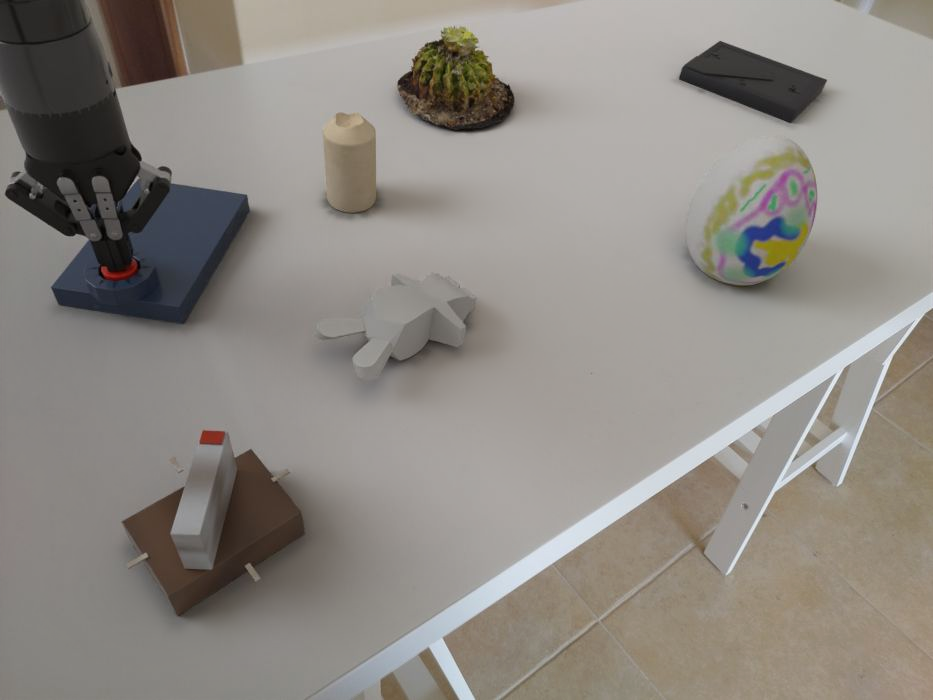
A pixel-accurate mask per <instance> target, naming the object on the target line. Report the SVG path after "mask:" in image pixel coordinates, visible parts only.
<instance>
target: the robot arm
mask: <svg viewBox="0 0 933 700" xmlns="http://www.w3.org/2000/svg"><path fill="white" fill-rule="evenodd" d="M113 77H114V74H113V71H112V67H111V64H110V61H108V58H107V54H106V51H105V47H104V45H103V43H102V40H101V38H100V36H99V34H98V31H97V28H96V27H95V24H94V22H93V19H92V15H91V12H90V8H89V5H88V1H87V0H0V95H1V99H2V101H3V103H4V106H5V108H6V110H7V113H8V115H9V118H10V120H11V123H12V125H13V127H14V131H15V133H16V135H17V137H18V141H19V143H20V145H21V148H22V149H23V150H24V152H25V153H24V154H25V159H24V162H23V167H24V169H23V170H22V171H18V170H17V171H14V172H12V173H11V176H10V177H9V181H8V183H7V185H6V189H5V191H4V196H5V197H6V198H7V200H9V201H11V202H13V203H14V204H15V205H17V206H19V208H22V209H23V210H25V211H26V212H27V213H30V214H31V215H33V216H34V217H36V218H37V219H38V220H40V221H42V222H43V223H45V224H47V225H48V226H50V227H51V228H53V229H54V230H56V231H57V232H59V233H61V234H62V235H64V236H66V237H74V236H76V235H79V236H84V237H86V238H87V240H90V242H91V245H92V248H93V250H94V253H95V256H96V258H97V261H98V263H99V264H100V265H101V266H102V267H105V266H106V267H107V269H108V272H117V271H127V266H128V265H131V263H132V258H133V252H134V250H133V247H132V243H131V240H130V237H129V234H128V233H129V232H133V233H140V232H141V231H142V230H143V229H144V227H145V226H146V224H147V223H148V222H149V220H150V219H151V217H152V216H153V214H154V213H155V212H156V210H157V209H158V207H159V206H160V204H161V203H162V202H163V200H164V199H165V197H166V196H167V194H168V193H169V191H170V185H171V183H172V175H173V171H172V170H171V169H170V168H169V167H168V166H164V165H161V166H159V167H155V166H153V165H151V164H149V163H147V162H145V161H144V160H143V158H142V154H141V152H140V150H139V149H138V148H136V147H135V145H134V144H133V143H132V141H131V139H130V136H129V132H128V129H127V128H128V127H127V124H126V122H125V118H124V114H123V110H122V108H121V104H120V100H119V96H118V94H117V90H116V86H115V83H114V79H113ZM137 177H138V179H140V180H141V182H140V189H141V190H142V192H141V194H140V195H139V197H138V198H137V200H136V201H135V203H134V204H133V206H132V207H131V209H130V210H128V211H125V212H124V207H123V202H122V199H123V198H124V197H125V195H126V193H127V192H128V191H129V190H130V188H131V187H132V186H133V184H134V183H135V180H136V178H137Z"/></svg>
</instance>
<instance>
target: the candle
mask: <svg viewBox="0 0 933 700" xmlns="http://www.w3.org/2000/svg"><path fill="white" fill-rule="evenodd" d="M376 132H377V131H376V127H375V126H374V125H373V124H372V123H371V122H370V121H368V120H367V119H366V118H365V117H364V116H363V115H362V114H361V113H360V112H353V113H349V114H347V113H345V112H337V113H335V114H334V115H333V117H332V118H330V120H329V121H328V122H327V123H326V124H325V125H324V126H323V128H322V144H323V157H324V172H325V173H324V174H325V187H326V197H327V198H326V199H327V201H328V205H330V206H331V207H332V208H333V209H335V210H337V211H340V212H343V213H344V212H345V213H349V214H350V213H360V212H364V211H367V210H369V209H371V208H372V207H373V206H374V205H375V203H376V200H377V133H376Z"/></svg>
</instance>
